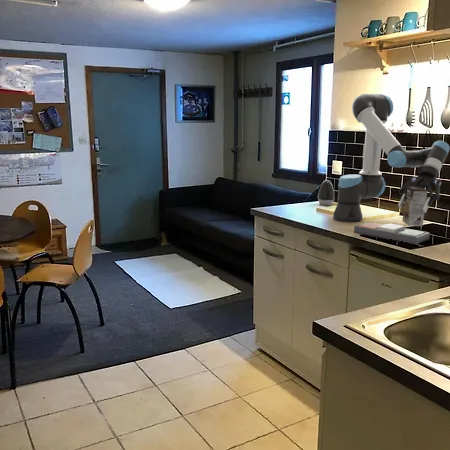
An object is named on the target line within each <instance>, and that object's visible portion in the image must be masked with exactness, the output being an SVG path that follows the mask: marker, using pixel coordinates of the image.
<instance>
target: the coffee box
mask: <svg viewBox="0 0 450 450" xmlns="http://www.w3.org/2000/svg"><path fill="white" fill-rule="evenodd" d="M427 196H428V189H427V188H424V187H416V186H406V194H405V202H404V204H403V205H404V206H403V211H402V212H403V215H402V222H403V223H404V224H406V225H407V226H408V227H423V225H424V219H425V213H424V212H423V207H424V205H425V203H426V201H427V199H428V197H427Z"/></svg>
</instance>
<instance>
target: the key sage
mask: <svg viewBox="0 0 450 450" xmlns="http://www.w3.org/2000/svg"><path fill="white" fill-rule="evenodd" d="M406 229H407V230H404V231H401V232H398V234H403V235H408V236H414V237H417V236H420V235H422V234H425V233H426V232H427V231H422V230H418V229H417V230H416V229H412V228H411V229H410V228H406Z"/></svg>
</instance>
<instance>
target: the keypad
mask: <svg viewBox="0 0 450 450" xmlns="http://www.w3.org/2000/svg"><path fill="white" fill-rule="evenodd" d="M366 223H370V222H364V223H361V224H358V225H355V226H354V227H353V229H354V230H353V233H354V234H360V235H365V236H370V237H375V238H381V239H385V240H390V239H392V241H396V240H398V241H397V242H401V241H403V243H406V242H407V243H408V244H413V245H419V244H421V243H424V242H427V241H428V240H430V236H431V235H430V234H431V233H430V232H428V231H425V232H426V233H425V234H422V235H420V236H417V237H414V236H408V235H403V234H398V232H396V233H392V232H386V231H380V230H377V229H369V228H363V227H358V226H359V225H363V224H366ZM407 229H408V228H405V230H407ZM402 231H404V230H402ZM399 232H401V231H399Z"/></svg>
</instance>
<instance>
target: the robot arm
mask: <svg viewBox="0 0 450 450" xmlns="http://www.w3.org/2000/svg"><path fill="white" fill-rule="evenodd" d="M393 111H394V103H393V100H392V99H391V97H390V96H389V95H387V94H382V93H381V94H380V93H378V94H377V93H376V94H375V93H362V94H359V95H357V96H355V98H354V99H353V101H352V104H351V112H352V115H353V117H354V118H355V120H356V121H357V122H358V123H360V124H362V125H363V127H364V128H365V138H364V149H363V158H362V169H361V170H360V171H359V172H358V174H355V173H354V174H345V175H341V176H340V177H339V179H338V185H337V186H338V189H337V205H336V206H335V209H334V212H333V214H332V219H333V220H334V221H338V222H347V223H357V222H362V221H363V217H364V216H363V213H362V208H361V200H363V199H374V198H379V197H380V196H381V195H382V194H383V193H384V192H385V189H386V181H385V180H384V177H382V175H383V174H382V172H381V171H380V165H381V156H382V155H381V153H382V151H384V153H385V154H386V156H387V158H386V159H387V160H386V161H387V163H388V166H390V167H391V168H413V169H414V168H421V169H420V171H419V173H418V176H416V177H413V176H412V175H410V176H409V178H408V180H407V181H406V182H405V183H404V184H403V185H402V186H401V187H400V188H399V189H398V194H399V195H400V196H399V199H398V200H399V202H398V204H397V206H398V208H399V209H400V210H401V209H402V208H403V207H404V206H403V205H404V203H405V194H406V186H416V187H422V188H424V189H427V191H428V193H429V196H428V197H427V198H426V203H425V205H424V207H423V212H424V214H427V212H428V211H427V210H428V209H429V207H432V205H433V202H434V201H439V200H440V191H441V185H442V180H441V179H437V178H438V176H439V173H440V171H441V169H442V167H443V165H444V163H445V160H446V159H447V157H448V155H449V152H450V144H448V143H447V142H446V141H444V140H437V141H434V142H433V144H432V146H431V147H428V148H425V149H420V150H406V149H405V148H404V147H403V146H402V145H401V143H400V142H399V141H398V140H397V139H396V137H395V136H394V135H393V134H392V132H391V131H390V130H389V128H388V127H387V126H386V125H385V124H386V123H387V122H388V118H389V117H390V116H391V114H392V113H393ZM434 184H435V192H434V193H435V195H434V194H433V189H432V185H434Z"/></svg>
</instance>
